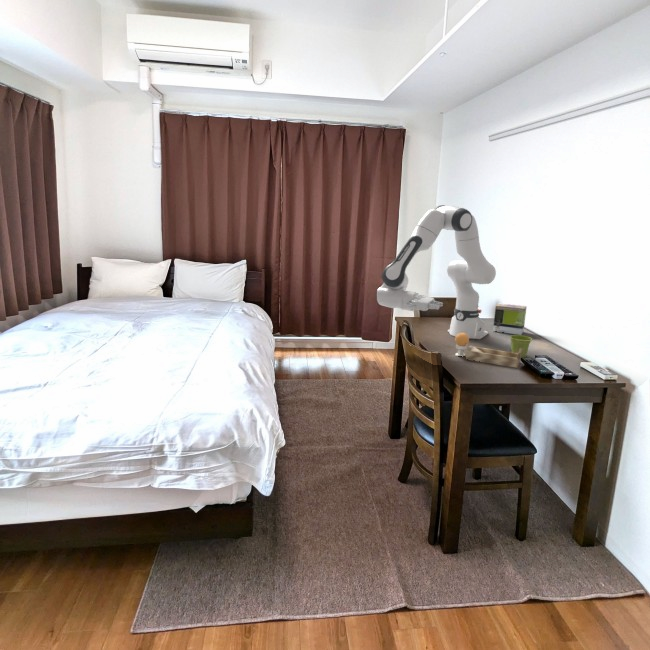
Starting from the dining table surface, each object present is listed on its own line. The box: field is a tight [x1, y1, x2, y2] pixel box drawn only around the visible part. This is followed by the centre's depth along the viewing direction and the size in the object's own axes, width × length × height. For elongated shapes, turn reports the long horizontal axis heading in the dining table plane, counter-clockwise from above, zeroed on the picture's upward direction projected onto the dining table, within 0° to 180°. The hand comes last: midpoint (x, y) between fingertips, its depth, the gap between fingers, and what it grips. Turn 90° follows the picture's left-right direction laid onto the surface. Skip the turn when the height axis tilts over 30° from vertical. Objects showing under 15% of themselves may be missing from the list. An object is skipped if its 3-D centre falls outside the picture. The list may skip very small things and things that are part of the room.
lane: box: [465, 345, 522, 369], centre depth 210 cm, size 22×9×7 cm, turn 64°
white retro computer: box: [492, 302, 527, 336], centre depth 262 cm, size 15×10×15 cm, turn 62°
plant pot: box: [509, 334, 533, 358], centre depth 219 cm, size 9×9×9 cm
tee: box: [455, 344, 468, 358], centre depth 216 cm, size 4×4×5 cm
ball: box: [454, 333, 470, 346], centre depth 215 cm, size 6×6×6 cm
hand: (440, 306), depth 216 cm, fingers open, 8 cm apart
